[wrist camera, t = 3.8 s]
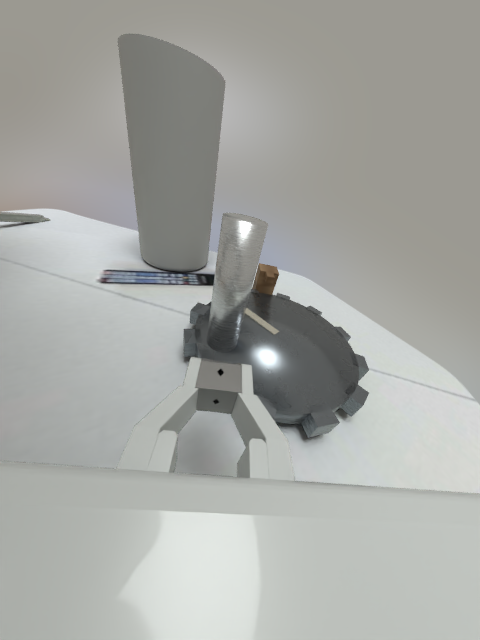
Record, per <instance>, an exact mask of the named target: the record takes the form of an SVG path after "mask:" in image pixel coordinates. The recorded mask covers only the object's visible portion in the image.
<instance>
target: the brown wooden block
mask: <svg viewBox="0 0 480 640" xmlns="http://www.w3.org/2000/svg"><path fill="white" fill-rule="evenodd" d="M278 276H279V273H278V270H277V267H274V266H270V265H265V264H260V263H259V265H258V269H257V273H256V277H255V280H254V284H253V288H252V289H257V290H258V292H259V293H264V294H270V295H272V293H273V290H274V287H275V284H276V281H277V279H278Z"/></svg>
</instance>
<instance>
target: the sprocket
mask: <svg viewBox="0 0 480 640" xmlns="http://www.w3.org/2000/svg"><path fill="white" fill-rule="evenodd" d="M267 227H268V224H267V223H266V222H264V221H262V220H260V219H257V218H254V217H250V216H247V215H242V214H236V213H223V217H222V224H221V232H220V240H219V247H218V255H217V263H216V271H215V278H214V286H213V294H212V301H211V302H210V303H209V304H207V305H204V304H201V303H197V304H196V306H195V307H194V308H193V309H192V310H191V313H190V323H191V324H194V325H195V329H184V338H183V345H184V356H195V357H196V358H203V359H209V360H216V361H225V362H233V363H241V364H247V365H251V366H252V376H253V393H254V395H257V396H258V398H259V399H260V401H261V402H262V404H263V405H264V407H265V408H266V410H267V411H268V412H269V414H270V415H271V417H272V418H273V420H274V421H275V422H280V423H286V424H302V426H303V428H304V430H305V433H306V435H307V437H308V438H309V437H313V436H318V435H322V434H326V433H329V432H330V431H331V430H332V429H333V428H334V427H336V426H337V425H338V424H339V423H340V422H339V421H338V419H337V417H336V416H335V414H334V412H336V411H337V410H338V409H339V408H341V409H343V410H344V411H345V412H346V413H347V414H349V415H350V416H352V415H353V414H355V413H356V412H357V411H358V410H359V409H360V408H361V407H362V406H363V405H364V402H365V400H366V398H367V396H368V394H369V392H367V391H366V390H364V389H363V388H362V387H360V386H359V385H358V380H360V379H361V378H362V377H363V376H364V375H365V374H366V373H367V372H368V371H369V369H368V366H367V364H366V361H365V358H364V357H363V356H360V355H357V354H354V352H353V350H352V348H351V346H350V345H349V343H348V340H349V339H350V338H351V337H350V336H349V335H348V334H347V333H346V332H345V331H344V330H343V329H342V328H341V327H334V326H333V325H332V324H330V323H329V322H328V321H327V320H325V319H324V318H323V317H321V314H322V312H320V311H318V310H317V309H315V308H313V307H312V306H309V307H305V306H303V305H300V304H298V303H296V302H293V301H291V300H290V297H289V296H286V295H282V294H279V293H277V295H276V296H275V295H270V294H264V293H259V292H258V290H257V289H251V288H252V284H253V280H254V277H255V273H256V269H257V265H258V261H259V257H260V253H261V250H262V246H263V242H264V238H265V234H266V231H267Z"/></svg>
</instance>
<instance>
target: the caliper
mask: <svg viewBox="0 0 480 640" xmlns="http://www.w3.org/2000/svg"><path fill="white" fill-rule="evenodd" d="M44 220H45V221H50V219H48V218H44V216H42V215H37V214H24V213H10V212H0V221H3V222H29V223H39V222H45V221H44Z"/></svg>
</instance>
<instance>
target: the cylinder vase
mask: <svg viewBox="0 0 480 640" xmlns="http://www.w3.org/2000/svg"><path fill="white" fill-rule="evenodd" d="M118 47H119V57H120V66H121V74H122V84H123V93H124V102H125V111H126V120H127V130H128V139H129V148H130V157H131V167H132V176H133V184H134V194H135V203H136V213H137V221H138V231H139V240H140V249H141V256H142V258H143V259H144V260H145V261H146V262H147V263H149V264H150V265H152V266H154V267H157V268H160V269H164V270H169V271H179V272H185V271H194V270H197V269H200V268H202V267H203V266H205V265H206V263H207V260H208V251H209V241H210V231H211V221H212V211H213V201H214V191H215V181H216V171H217V161H218V151H219V140H220V131H221V121H222V111H223V101H224V91H225V80H224V78H223V77H222V75H221V74H220V73H219V72H218V71H217V70H216V69H215V68H214V67H213V66H211V65H210V64H209V63H207V62H206V61H204V60H203V59H201V58H200V57H198V56H196V55H195V54H193V53H191V52H189V51H187V50H185V49H183V48H181V47H178V46H176V45H174V44H171V43H169V42H166V41H163V40H160V39H157V38H153V37H150V36H145V35H140V34H124V35H121V36H120V37H119V38H118Z"/></svg>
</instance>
